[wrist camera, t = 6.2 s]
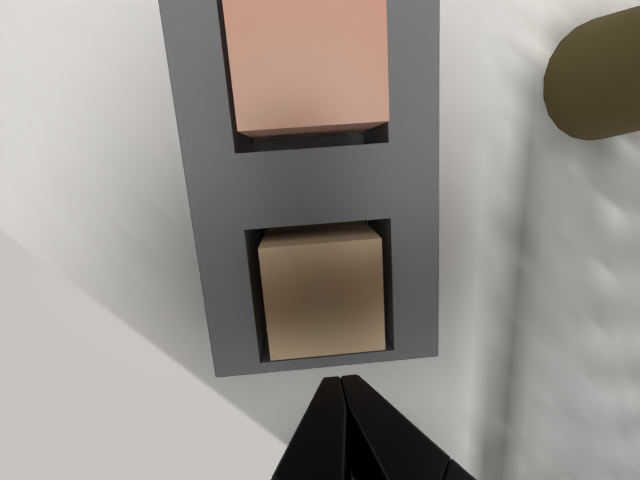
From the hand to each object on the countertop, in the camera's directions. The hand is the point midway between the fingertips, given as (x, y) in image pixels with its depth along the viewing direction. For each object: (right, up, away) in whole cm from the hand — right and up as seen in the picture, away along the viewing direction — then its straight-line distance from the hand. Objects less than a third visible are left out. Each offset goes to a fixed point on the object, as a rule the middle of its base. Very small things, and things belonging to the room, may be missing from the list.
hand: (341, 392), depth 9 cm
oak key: (-1, +2, +11) cm, 12 cm away
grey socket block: (-1, +7, +10) cm, 13 cm away
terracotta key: (-1, +11, +8) cm, 13 cm away
